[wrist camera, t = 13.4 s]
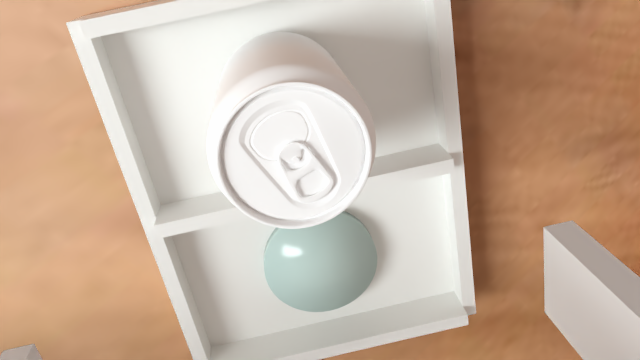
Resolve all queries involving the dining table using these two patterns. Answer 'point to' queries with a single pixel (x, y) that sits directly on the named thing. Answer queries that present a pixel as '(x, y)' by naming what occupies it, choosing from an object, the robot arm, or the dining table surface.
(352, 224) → the pale green smooth oval
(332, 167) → the beverage can
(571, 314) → the robot arm
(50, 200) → the dining table surface
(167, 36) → the divided white tray
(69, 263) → the dining table surface
